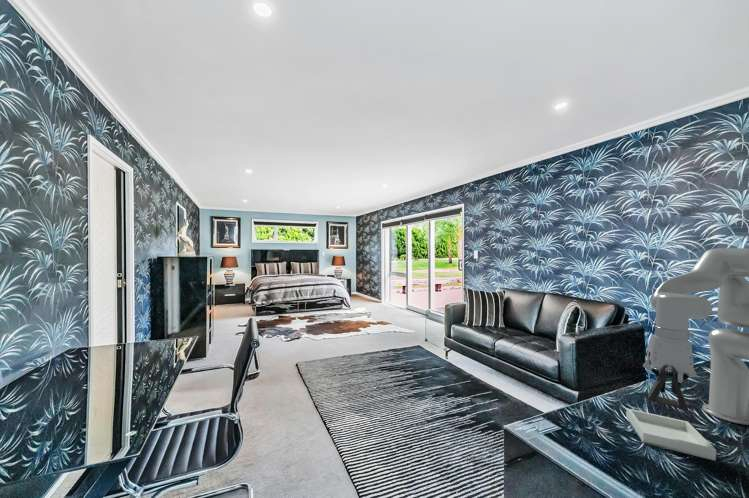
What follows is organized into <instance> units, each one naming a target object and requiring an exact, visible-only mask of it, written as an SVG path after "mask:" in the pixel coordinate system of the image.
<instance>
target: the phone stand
mask: <svg viewBox="0 0 749 498" xmlns="http://www.w3.org/2000/svg"><path fill="white" fill-rule="evenodd" d="M667 367H668V366H665V367H664V368H663V375H662V376H661V378H660V379H659V381H657V379H656V380H655V382H654V384H652V386H651V388H650V390H649V391H648V393H647V394H648V397H647V398H648V400H649V401H651V402H654V403H658V404H661V405H665V406H668V407H672V408H676V409H678V410H679V409H680V410H682V411H686V412H688V411H689V408H688V404H687V401H686V399H685V395H684V393H683V391H682V388H681V389H680V386H679V384H678V381H677V379H676V373H677V372H676V369H675V368H674V367H672V368H673V369H674V370H675V372H674V371H668V370H665V368H667ZM668 378H669V379H671V381H672V380H673V384H674V387H675V391H676V394H677V395H676V397H677V400H675V399H671V398H667V397H663V396H659V395H660V394H661V389H662V387H663V385H664V382H665V381H666V380H667V379H668Z"/></svg>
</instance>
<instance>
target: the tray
mask: <svg viewBox="0 0 749 498" xmlns="http://www.w3.org/2000/svg"><path fill="white" fill-rule="evenodd" d="M625 418H627V420H628V422H629V424H630V425H631V427H632V429H634V431H635V433H636V434H637V435H638V438H639V439H640V440H641V442H642V443H643V444H646V445H651V446H655V447H659V448H663V449H666V450H667V449H668V450H672V451H674V452H678V453H683V454H686V455H691V456H695V457H698V458H702V459H707V460H710V461H716V460H717V448H715V447H714V446H713V445H712V444H711V443H710V442H709V441H708V440H707V439H706V438H705V437H704V436H703V435H702V434H701V433H700V432H699V431H698V430H697V429H696V428H695V427H694V426H693V425H692V424H691V423H690V422H689V421H687V420H682V419H678V418H673V417H669V416H664V415H659V414H655V413H650V412H646V411H641V410H636V409H632V408H626V417H625Z"/></svg>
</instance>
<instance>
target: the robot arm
mask: <svg viewBox="0 0 749 498" xmlns="http://www.w3.org/2000/svg"><path fill="white" fill-rule="evenodd" d="M747 278H749V248H746V247H744V248H741V247H740V248H739V247H738V248H737V247H736V248H735V247H718V248H717V247H716V248H710V249H708V250H706V251H704V253H702V255H701V256H700V257H699V258H698V260H697V261H696V263H695V264H694V266H692V268H691V269H690V271H689V272H686V273H682V274H680V275H677V276H674V277H671V278H669V279H667V280H665V281H663V282H662V283H661V284H660V285H659V286H658V287H657V288H656V290H655V291H654V293H653V294H652V297H651V299H650V307H652V308H651V309H653V311H655V327H654V334H651V336H650V339H649V342H648V346H647V353H646V361H645V362H644V363H643V364H642V367H643V368H644V369H646V370H648V371H650V372H651V373H653V374H654V375H655V376H656V380H657V381H659V379H660V378H661V376H662V375H663V368H664V367H665V366H668V367H667V368H665V370H668V371H674V372H675V370H674V369H673V368H672V367H674V368H675V369H676V372H677V373H676V379H677V381H678V384H679V386H680V389H681V390H682V388H681V387H682V386H681V385H682V383H683V382H684V381H685V380H688V379H690V378H696V377H697V376H698V374H697V372H696V370H695V368H694V355H693V354H694V353H693V347H692V343H691V340H689V339H690V338H695V334H694V333H693V332H691V331H689V324H690V322H689V321H690V319H691V320H698V321H699V320H703V319H706V318H708V317H710V315H711V314H712V312H713V305H712V303H711V302H710V300H708V299H707V298H706V297H703V296H699V295H692V294H695V293H703V292H710V291H714V290H715V291H716V289H719V292H718V293H719V295H718V303H717V311H716V312H717V314H716V316H717V319H718V321H719V322H720V323H721V324H724V325H725V326H726V325H727V326H731V327H736V328H742V329H747V330H749V280H748V279H747ZM707 341H708V346H709V352H710V373H709V374H710V375H709V391H708V393H709V394H708V395H709V396H708V397H709V398H708V403H706V404H703V405H702V410H703V411H704V412H706V413H707V414H709V415H711V416H714V417H716V418H718V419H721V420H724V421H728V422H730V423H735V424H740V425H747V426H749V367H748V366H747V365H746V363H745V362H744V361H743V360H747V361H749V332H746V331H741V330H735V329H730V328H714V329H712V330H711V331H710V332H709V333H708V339H707ZM670 391H671V393H673V394H674V395H675V396H677V394H676V391H675V387H674V384H673V380H672V379H671V387H670ZM665 392H666V380H665V382H664V385H663V387H662V389H661V391H660V393H665Z"/></svg>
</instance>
